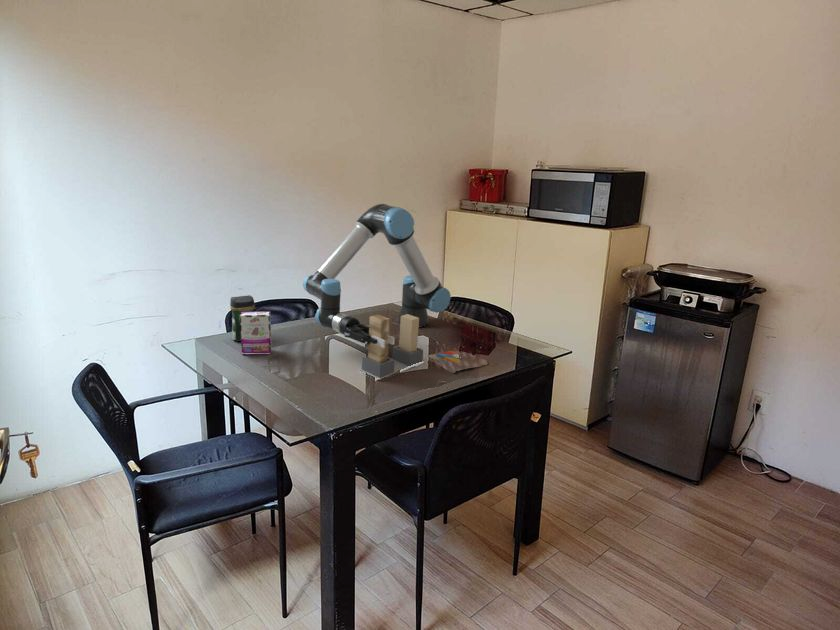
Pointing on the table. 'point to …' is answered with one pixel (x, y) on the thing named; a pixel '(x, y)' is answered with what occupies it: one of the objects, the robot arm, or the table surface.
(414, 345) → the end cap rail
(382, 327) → the oak slat
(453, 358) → the wooden puzzle
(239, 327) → the coffee jar
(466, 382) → the table surface
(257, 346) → the candy bar box
